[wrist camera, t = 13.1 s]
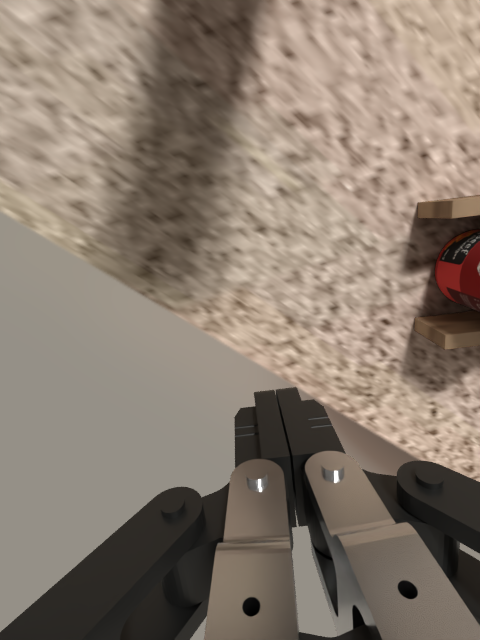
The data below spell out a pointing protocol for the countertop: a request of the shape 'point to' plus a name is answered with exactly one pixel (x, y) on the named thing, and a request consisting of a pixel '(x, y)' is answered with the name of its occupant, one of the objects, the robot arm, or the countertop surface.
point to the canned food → (461, 269)
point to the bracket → (454, 326)
